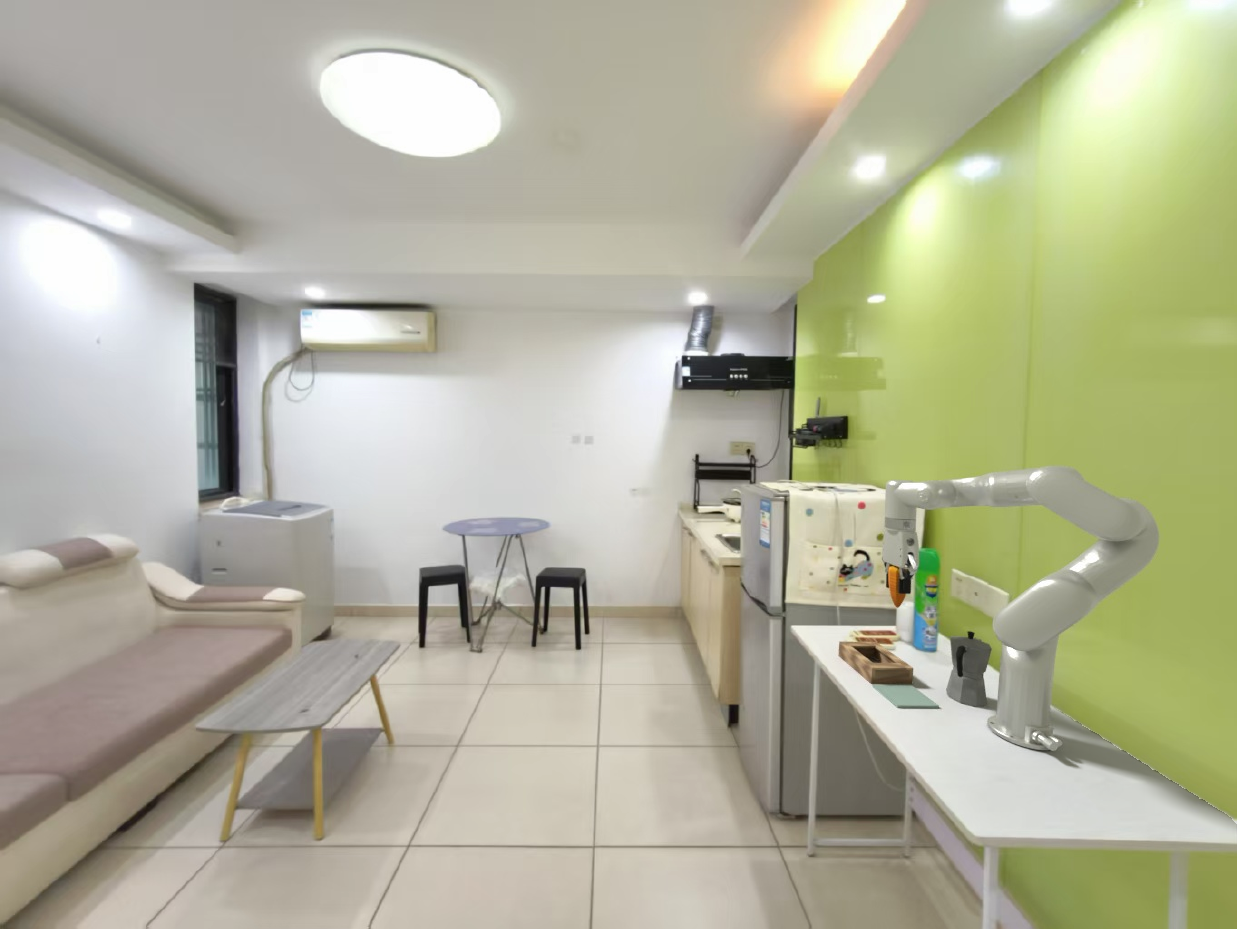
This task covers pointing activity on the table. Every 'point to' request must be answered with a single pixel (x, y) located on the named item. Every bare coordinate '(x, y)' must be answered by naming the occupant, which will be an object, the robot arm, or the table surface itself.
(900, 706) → the pad
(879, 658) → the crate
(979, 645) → the coffeepot
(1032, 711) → the robot arm
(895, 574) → the carrot
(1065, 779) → the table surface
